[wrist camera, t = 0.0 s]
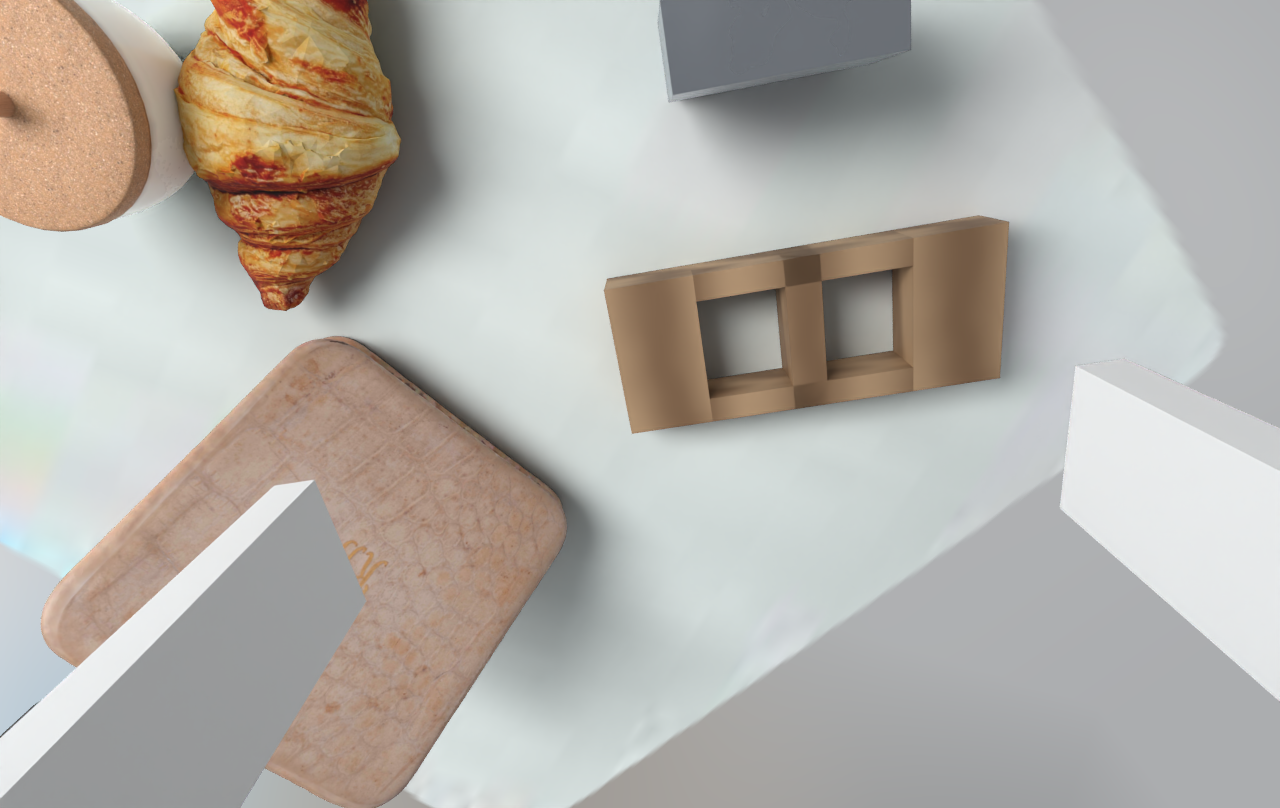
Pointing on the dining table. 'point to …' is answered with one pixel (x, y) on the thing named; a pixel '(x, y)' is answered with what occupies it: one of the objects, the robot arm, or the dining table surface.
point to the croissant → (288, 132)
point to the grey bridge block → (773, 40)
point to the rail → (815, 323)
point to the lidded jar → (85, 114)
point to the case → (374, 543)
